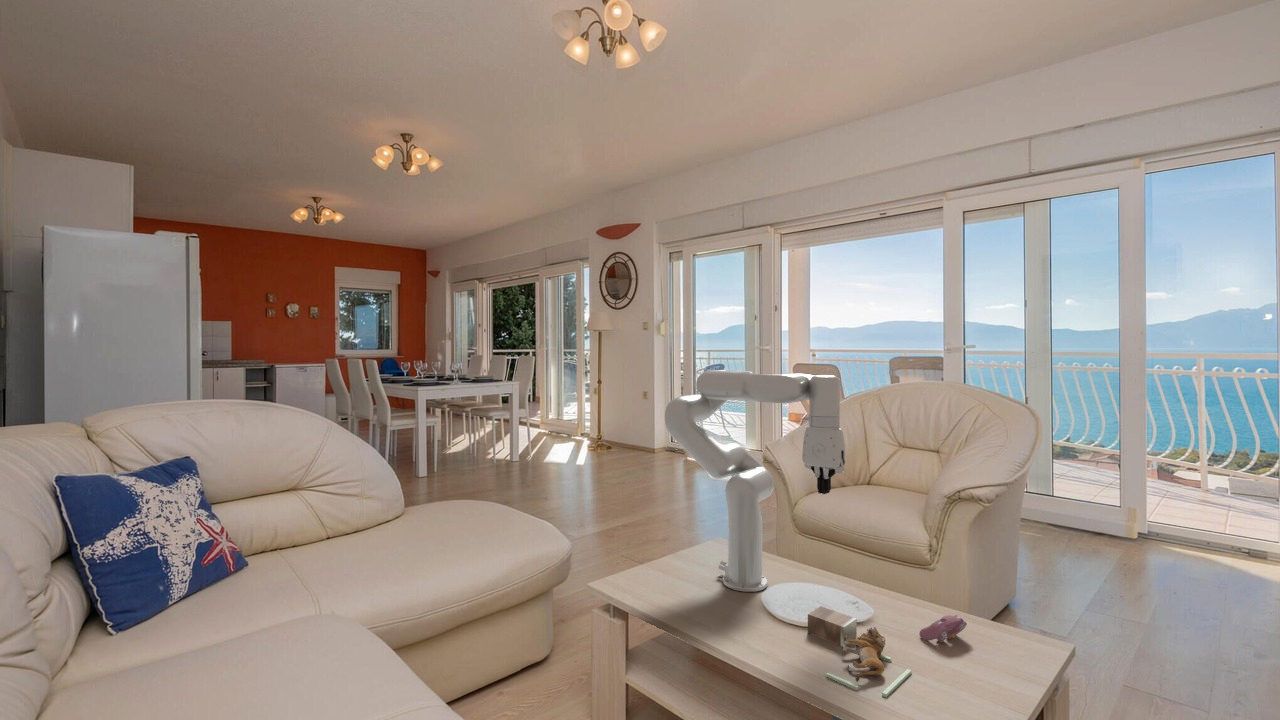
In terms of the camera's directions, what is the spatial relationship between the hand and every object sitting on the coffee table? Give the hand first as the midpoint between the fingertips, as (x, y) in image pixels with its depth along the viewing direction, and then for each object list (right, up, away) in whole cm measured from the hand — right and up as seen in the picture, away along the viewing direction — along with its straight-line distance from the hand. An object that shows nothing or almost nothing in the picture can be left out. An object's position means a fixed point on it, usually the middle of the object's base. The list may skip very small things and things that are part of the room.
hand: (823, 492), depth 151 cm
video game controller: (+22, -30, -18) cm, 41 cm away
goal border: (-1, -30, -32) cm, 44 cm away
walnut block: (-6, -27, -13) cm, 31 cm away
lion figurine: (-5, -26, -29) cm, 39 cm away
